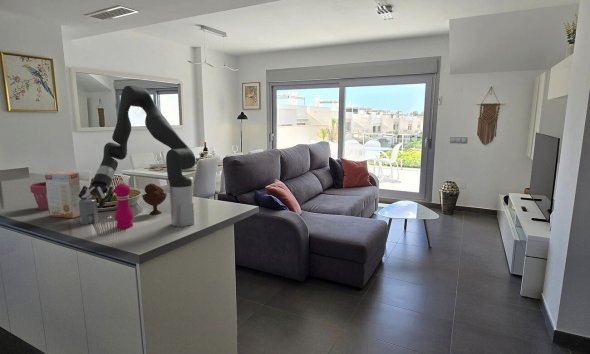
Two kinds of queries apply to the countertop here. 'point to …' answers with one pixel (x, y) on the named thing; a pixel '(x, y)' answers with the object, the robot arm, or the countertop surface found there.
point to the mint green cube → (90, 218)
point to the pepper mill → (123, 206)
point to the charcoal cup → (88, 210)
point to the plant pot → (40, 195)
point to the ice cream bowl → (154, 197)
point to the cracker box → (63, 194)
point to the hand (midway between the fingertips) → (90, 206)
